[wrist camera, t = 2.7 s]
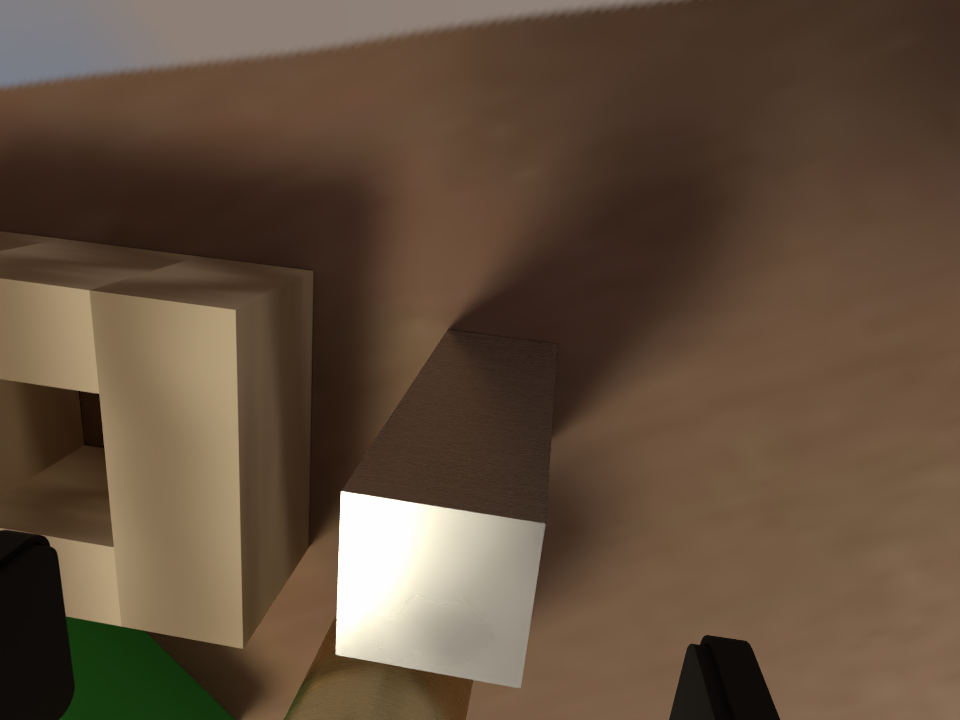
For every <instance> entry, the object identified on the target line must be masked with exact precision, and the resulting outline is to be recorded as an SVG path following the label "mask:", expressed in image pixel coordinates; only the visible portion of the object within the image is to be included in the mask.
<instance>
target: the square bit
mask: <svg viewBox="0 0 960 720" xmlns="http://www.w3.org/2000/svg"><path fill="white" fill-rule="evenodd" d="M557 349H558V344H553V343H545V342H538V341H530V340H523V339H515V338H508V337H500V336H493V335H485V334H478V333H470V332H463V331H455V330H447V331H446V333H445V334H444V336H443V337H442V339H441V340H440V342H439V343H438V345H437V346H436V348H435V349H434V351H433V352H432V354H431V356H430V357H429V359H428V360H427V362H426V363H425V365H424V366H423V368H422V369H421V371H420V372H419V374H418V375H417V377H416V378H415V380H414V381H413V383H412V384H411V386H410V387H409V389H408V390H407V392H406V393H405V395H404V397H403V398H402V400H401V401H400V403H399V404H398V406H397V407H396V409H395V410H394V412H393V413H392V415H391V416H390V418H389V419H388V421H387V422H386V424H385V425H384V427H383V428H382V430H381V431H380V433H379V434H378V436H377V438H376V439H375V441H374V442H373V444H372V445H371V447H370V448H369V450H368V451H367V453H366V454H365V456H364V457H363V459H362V460H361V462H360V463H359V465H358V466H357V468H356V469H355V471H354V472H353V474H352V475H351V477H350V479H349V480H348V482H347V483H346V485H345V486H344V488H343V489H342V491H341V509H340V538H339V567H338V596H337V625H336V654H335V655H340V656H345V657H351V658H356V659H362V660H367V661H373V662H378V663H384V664H389V665H395V666H400V667H406V668H411V669H417V670H422V671H428V672H433V673H438V674H444V675H449V676H455V677H460V678H466V679H471V680H477V681H482V682H488V683H493V684H499V685H504V686H510V687H515V688H521V682H522V676H523V669H524V663H525V656H526V649H527V643H528V636H529V630H530V623H531V616H532V610H533V603H534V597H535V590H536V583H537V577H538V570H539V564H540V557H541V550H542V544H543V537H544V531H545V524H546V510H547V495H548V481H549V466H550V451H551V437H552V422H553V408H554V393H555V378H556V364H557Z"/></svg>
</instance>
